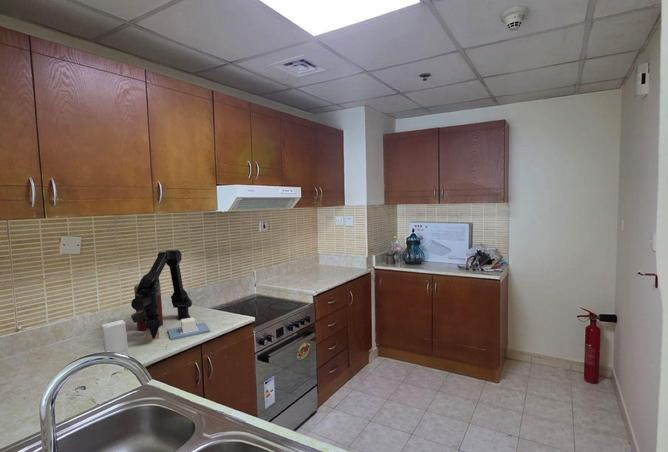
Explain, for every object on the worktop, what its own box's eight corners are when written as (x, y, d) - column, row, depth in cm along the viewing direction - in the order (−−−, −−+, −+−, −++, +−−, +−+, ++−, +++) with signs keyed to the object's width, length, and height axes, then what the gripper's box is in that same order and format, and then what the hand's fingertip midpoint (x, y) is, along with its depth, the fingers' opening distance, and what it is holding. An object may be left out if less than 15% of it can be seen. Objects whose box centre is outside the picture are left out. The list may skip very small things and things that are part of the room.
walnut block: (147, 337, 179) (146, 327, 179) (158, 335, 182) (157, 325, 181) (147, 341, 175) (146, 330, 174) (159, 338, 177) (158, 328, 177)
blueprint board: (167, 331, 187) (167, 329, 187) (204, 324, 196) (204, 321, 196) (170, 340, 175) (170, 337, 175) (210, 332, 183) (210, 329, 183)
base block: (181, 329, 186) (180, 319, 186) (193, 326, 189) (193, 317, 189) (183, 332, 181) (182, 322, 181) (196, 330, 184) (195, 320, 184)
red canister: (143, 324, 198) (139, 273, 196) (163, 324, 197) (159, 272, 195) (133, 330, 189) (128, 276, 187) (154, 330, 188) (149, 276, 186)
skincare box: (126, 351, 163) (123, 318, 162) (129, 356, 158) (126, 322, 157) (104, 357, 157) (101, 323, 156) (106, 362, 153) (103, 327, 152)
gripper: (130, 302, 181) (133, 333, 182) (131, 311, 165) (134, 346, 166) (156, 298, 186) (158, 328, 188) (159, 307, 170) (161, 340, 171)
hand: (152, 335), depth 178 cm, fingers open, 8 cm apart
